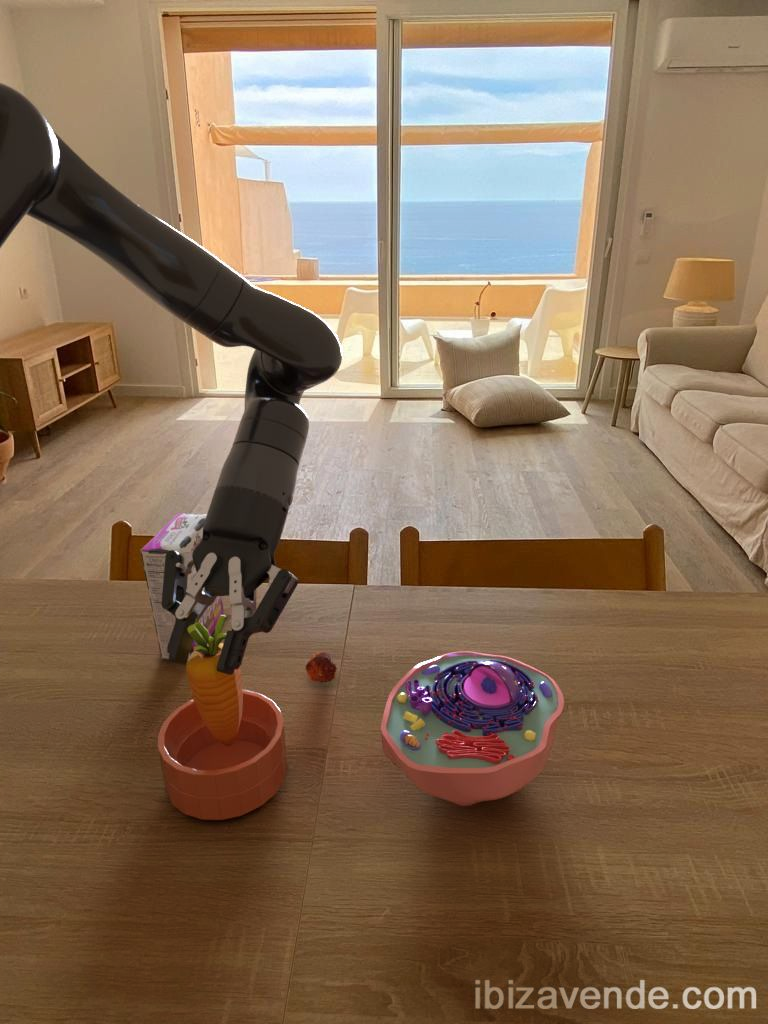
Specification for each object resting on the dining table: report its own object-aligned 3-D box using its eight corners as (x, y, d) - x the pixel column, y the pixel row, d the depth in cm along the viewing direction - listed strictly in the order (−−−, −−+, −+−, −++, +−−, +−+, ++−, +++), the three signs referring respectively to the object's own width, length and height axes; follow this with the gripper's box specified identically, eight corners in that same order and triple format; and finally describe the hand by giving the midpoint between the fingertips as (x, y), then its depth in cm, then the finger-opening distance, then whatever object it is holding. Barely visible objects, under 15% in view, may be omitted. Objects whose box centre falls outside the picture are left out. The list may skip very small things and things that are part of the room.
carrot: (249, 723, 73) (226, 600, 67) (257, 754, 69) (234, 625, 63) (201, 737, 72) (173, 612, 66) (207, 769, 67) (178, 639, 61)
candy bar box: (192, 614, 101) (177, 511, 94) (225, 617, 100) (212, 513, 93) (157, 660, 90) (138, 548, 84) (194, 664, 90) (177, 551, 83)
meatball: (303, 686, 85) (301, 659, 84) (318, 669, 88) (316, 643, 87) (328, 693, 84) (327, 666, 82) (343, 676, 87) (341, 650, 85)
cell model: (343, 769, 73) (339, 681, 68) (475, 689, 84) (479, 609, 80) (459, 878, 61) (464, 781, 56) (593, 767, 73) (606, 679, 68)
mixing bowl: (149, 824, 67) (139, 773, 64) (187, 735, 78) (179, 688, 75) (275, 827, 66) (270, 776, 63) (295, 737, 77) (291, 690, 75)
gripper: (172, 475, 68) (112, 645, 63) (304, 491, 64) (252, 676, 59) (208, 503, 75) (157, 659, 70) (330, 520, 71) (285, 688, 65)
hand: (200, 666), depth 64 cm, fingers closed on carrot, 4 cm apart
